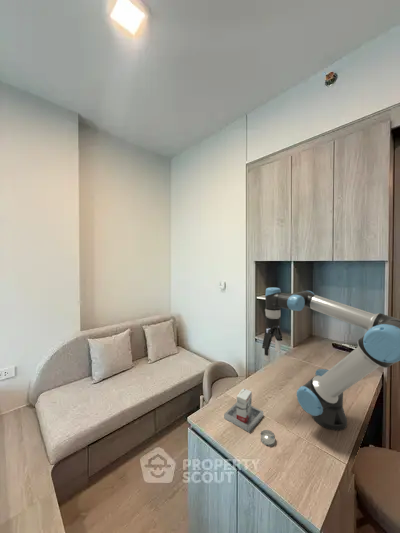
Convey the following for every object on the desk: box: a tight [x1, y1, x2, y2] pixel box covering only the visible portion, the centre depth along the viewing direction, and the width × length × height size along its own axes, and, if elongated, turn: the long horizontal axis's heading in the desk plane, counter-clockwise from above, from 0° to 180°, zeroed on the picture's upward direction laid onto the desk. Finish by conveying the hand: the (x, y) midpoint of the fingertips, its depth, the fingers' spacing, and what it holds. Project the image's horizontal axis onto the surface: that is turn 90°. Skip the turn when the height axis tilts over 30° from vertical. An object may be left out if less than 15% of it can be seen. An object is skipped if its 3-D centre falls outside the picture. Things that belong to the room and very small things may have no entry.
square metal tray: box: [223, 401, 264, 434], centre depth 111 cm, size 14×14×2 cm
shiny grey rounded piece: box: [260, 429, 276, 447], centre depth 97 cm, size 6×6×2 cm
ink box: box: [236, 388, 253, 423], centre depth 111 cm, size 8×5×12 cm, turn 147°
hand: (272, 356), depth 119 cm, fingers open, 13 cm apart
